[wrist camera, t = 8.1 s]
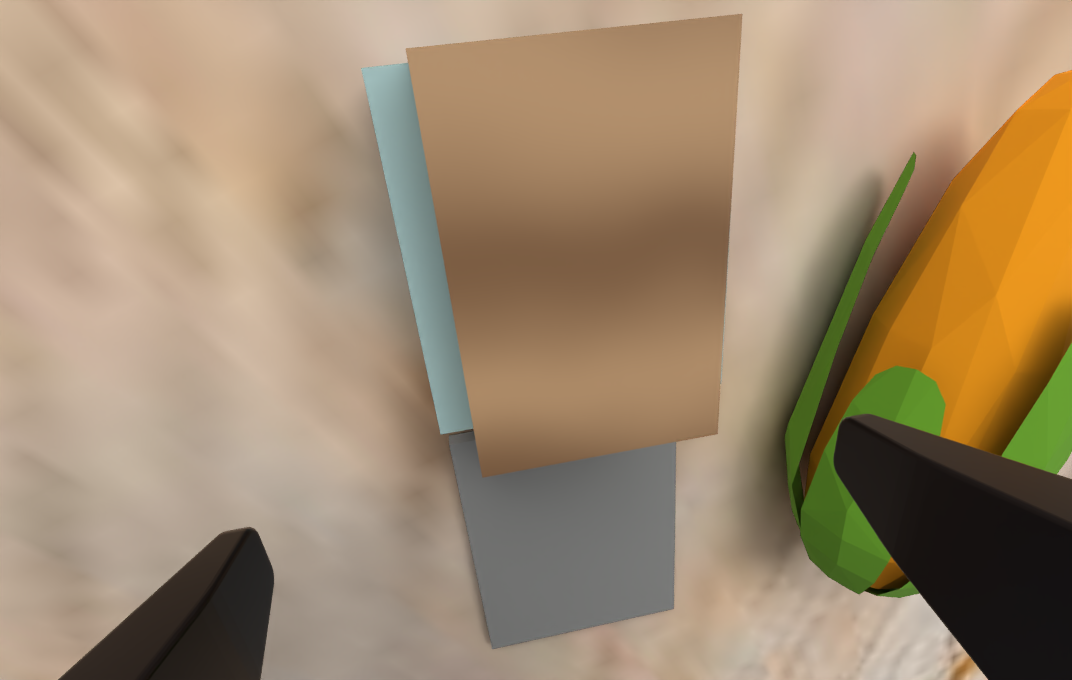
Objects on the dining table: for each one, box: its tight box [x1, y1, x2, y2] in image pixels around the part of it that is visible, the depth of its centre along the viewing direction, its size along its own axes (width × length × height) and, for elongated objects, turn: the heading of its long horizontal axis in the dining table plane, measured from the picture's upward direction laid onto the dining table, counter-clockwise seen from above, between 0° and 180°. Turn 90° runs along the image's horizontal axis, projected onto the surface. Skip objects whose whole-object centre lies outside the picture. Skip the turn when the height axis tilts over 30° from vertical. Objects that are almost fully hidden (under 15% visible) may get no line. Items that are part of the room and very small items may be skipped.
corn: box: [785, 70, 1072, 598], centre depth 20 cm, size 7×8×20 cm
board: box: [406, 14, 742, 478], centre depth 14 cm, size 10×6×2 cm, turn 6°
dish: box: [361, 63, 732, 434], centre depth 16 cm, size 10×9×4 cm
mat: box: [449, 431, 676, 649], centre depth 24 cm, size 12×9×1 cm
